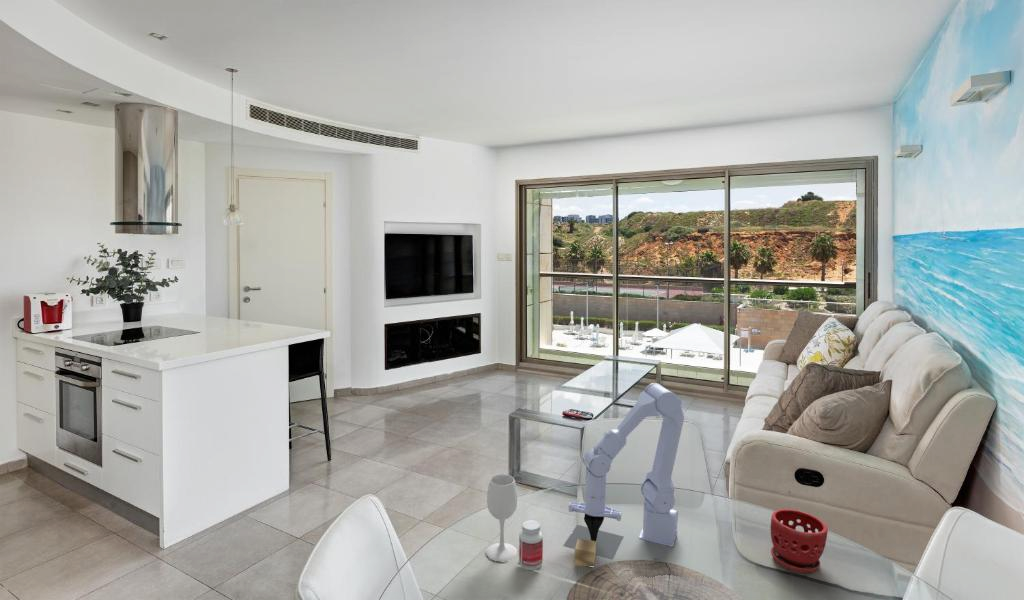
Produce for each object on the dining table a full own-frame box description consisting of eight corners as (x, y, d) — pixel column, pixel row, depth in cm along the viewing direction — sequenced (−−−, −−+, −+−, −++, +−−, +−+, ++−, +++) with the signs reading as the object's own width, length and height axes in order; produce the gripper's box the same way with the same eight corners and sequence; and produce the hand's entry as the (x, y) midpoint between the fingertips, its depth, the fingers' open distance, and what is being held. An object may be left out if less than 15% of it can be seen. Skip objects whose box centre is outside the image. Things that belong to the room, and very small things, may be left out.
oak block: (595, 558, 145) (596, 541, 144) (593, 570, 140) (594, 552, 139) (577, 555, 146) (577, 538, 145) (574, 566, 141) (575, 549, 140)
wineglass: (522, 548, 149) (523, 476, 146) (509, 566, 141) (510, 490, 138) (494, 540, 152) (495, 470, 150) (480, 557, 145) (480, 483, 142)
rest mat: (623, 537, 154) (623, 536, 154) (612, 560, 144) (612, 559, 144) (577, 525, 160) (577, 524, 160) (563, 547, 150) (563, 545, 150)
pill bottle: (547, 566, 141) (547, 526, 140) (527, 574, 138) (528, 533, 136) (533, 554, 146) (533, 515, 145) (514, 561, 143) (514, 522, 141)
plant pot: (822, 584, 135) (826, 539, 133) (765, 566, 142) (768, 524, 140) (825, 558, 146) (828, 516, 144) (771, 542, 153) (774, 502, 151)
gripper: (623, 491, 152) (622, 536, 153) (573, 482, 156) (571, 526, 158) (620, 502, 145) (618, 550, 147) (567, 493, 150) (566, 539, 151)
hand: (593, 538), depth 152 cm, fingers closed
